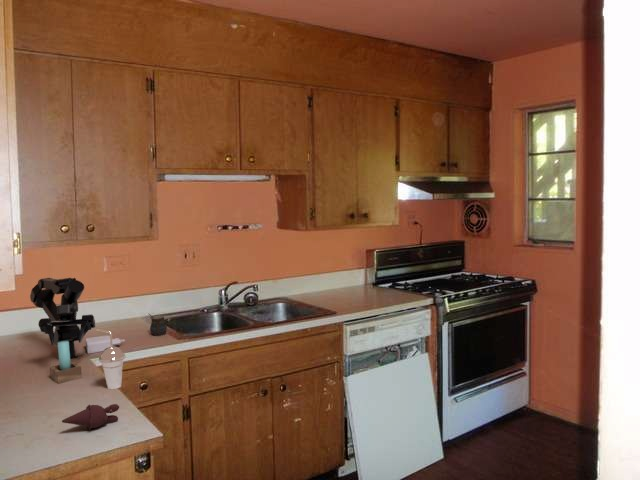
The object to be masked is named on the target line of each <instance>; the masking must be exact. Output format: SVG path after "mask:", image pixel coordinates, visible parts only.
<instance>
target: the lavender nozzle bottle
mask: <svg viewBox="0 0 640 480" xmlns="http://www.w3.org/2000/svg"><path fill="white" fill-rule="evenodd" d="M84 340H85V341H84V342H85V349H86V353H87V354H89V355H91V354H95V353H97V354H98V353H102V352H103V351H104V350H105V349H106V348H108V347H111V344H110V335H100V336H93V337H87V338H85V339H84ZM112 341H113V346H120V345H121V343H122V342H126V340H125V339H124V338H123V339H120V338H119V337H116V338H112Z"/></svg>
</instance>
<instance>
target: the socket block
mask: <svg viewBox="0 0 640 480" xmlns="http://www.w3.org/2000/svg"><path fill="white" fill-rule="evenodd" d="M70 362H71V368H69V369H65V370H61V371H60V366H59V364H57V365H53V366H50V367H49V374H50V379H51V380H53V381H54V382H55V383H56V384H58V385H59V384H62V383H66V382H69V381H74V380H78V379H81V378H82V377H83V376H82V375H83V374H82V366H81V365H79V364H77V363H76V362H75V361H70Z"/></svg>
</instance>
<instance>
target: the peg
mask: <svg viewBox="0 0 640 480" xmlns="http://www.w3.org/2000/svg"><path fill="white" fill-rule="evenodd" d="M57 351H58V355H59V358H58V365H59V366H60V371H61V370H65V369H69V368H71V362H72V361H71V358H70V351H69V341H61V342H58V345H57Z"/></svg>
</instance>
